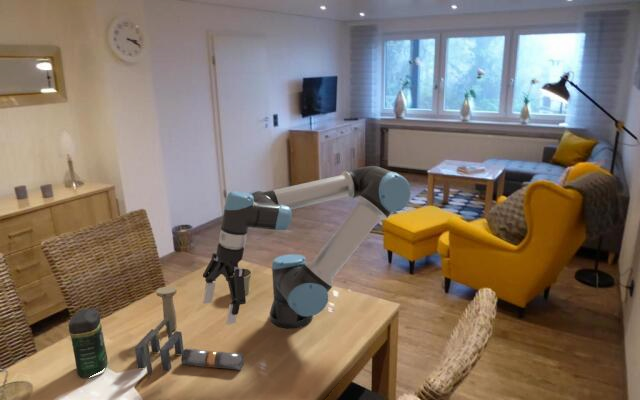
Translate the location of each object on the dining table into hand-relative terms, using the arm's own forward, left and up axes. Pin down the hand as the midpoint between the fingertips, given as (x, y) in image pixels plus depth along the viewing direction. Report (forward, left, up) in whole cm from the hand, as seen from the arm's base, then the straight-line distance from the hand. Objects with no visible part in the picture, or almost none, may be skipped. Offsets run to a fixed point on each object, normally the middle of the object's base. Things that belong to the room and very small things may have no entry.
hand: (218, 312), depth 132 cm
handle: (+24, -13, -16) cm, 31 cm away
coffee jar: (+37, +10, -16) cm, 41 cm away
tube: (+2, +3, -16) cm, 16 cm away
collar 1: (+23, +3, -16) cm, 28 cm away
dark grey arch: (+15, +3, -16) cm, 22 cm away
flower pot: (+9, -41, -16) cm, 45 cm away
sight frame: (+19, +3, -16) cm, 25 cm away
